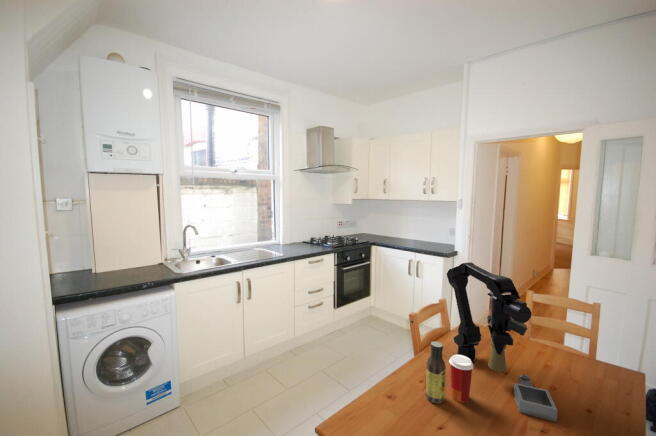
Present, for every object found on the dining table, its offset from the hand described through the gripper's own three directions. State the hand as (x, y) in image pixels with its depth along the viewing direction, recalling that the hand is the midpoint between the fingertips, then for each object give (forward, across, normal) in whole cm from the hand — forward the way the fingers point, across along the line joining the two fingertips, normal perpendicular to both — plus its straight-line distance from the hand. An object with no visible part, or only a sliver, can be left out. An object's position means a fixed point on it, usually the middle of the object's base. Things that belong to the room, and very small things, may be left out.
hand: (497, 350), depth 108 cm
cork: (+7, 0, 0) cm, 7 cm away
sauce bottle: (+13, -18, +21) cm, 31 cm away
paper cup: (+13, -14, +13) cm, 23 cm away
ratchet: (+14, -4, -10) cm, 18 cm away
